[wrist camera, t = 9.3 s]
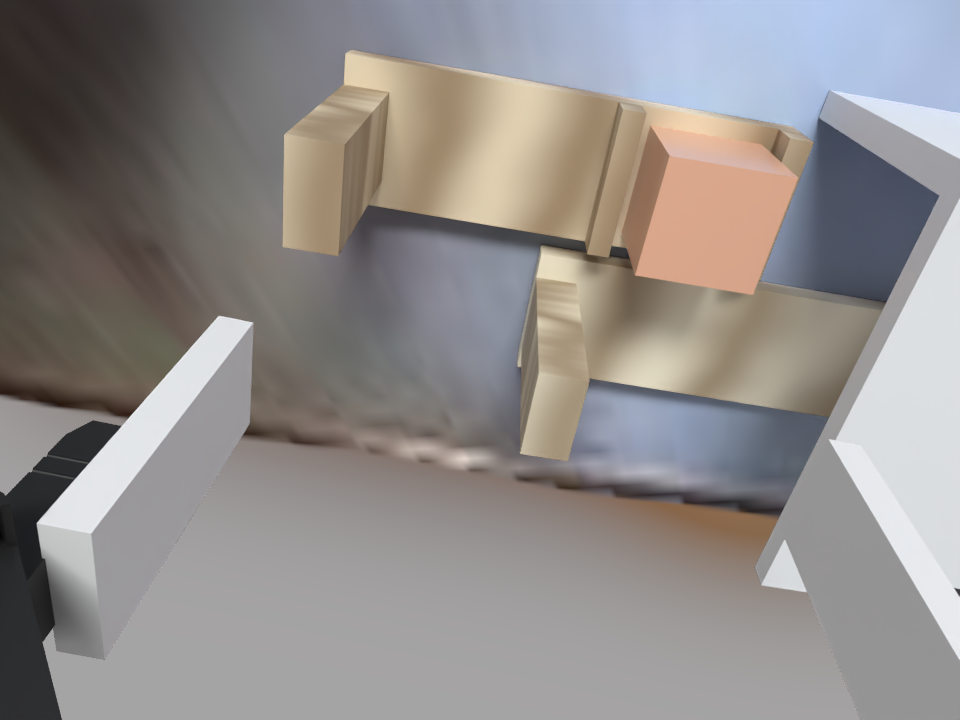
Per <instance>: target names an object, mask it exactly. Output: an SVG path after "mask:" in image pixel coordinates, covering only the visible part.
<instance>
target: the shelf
mask: <svg viewBox="0 0 960 720" xmlns="http://www.w3.org/2000/svg"><path fill="white" fill-rule="evenodd" d="M819 118H820V119H821V120H823V121H824V122H826V123H827V124H829V125H831V126H832V127H834V128H835V129H837V130H838V131H840V132H841V133H843V134H845V135H846V136H848V137H849V138H851V139H852V140H854V141H855V142H857V143H858V144H860V145H862V146H863V147H865V148H866V149H868V150H869V151H871V152H872V153H874V154H876V155H877V156H879V157H880V158H882V159H883V160H885V161H886V162H888V163H890V164H891V165H893V166H894V167H896V168H897V169H899V170H900V171H902V172H903V173H905V174H907V175H908V176H910V177H911V178H913V179H914V180H916V181H917V182H919V183H921V184H922V185H924V186H925V187H927V188H928V189H930V190H931V191H933V192H935V193H936V194H938V195H939V198H938V200H937V202H936V204H935V206H934V208H933V210H932V212H931V214H930V216H929V218H928V220H927V222H926V224H925V226H924V228H923V230H922V232H921V234H920V236H919V238H918V240H917V242H916V244H915V246H914V248H913V250H912V252H911V254H910V256H909V258H908V260H907V262H906V264H905V266H904V268H903V270H902V272H901V274H900V276H899V278H898V280H897V282H896V284H895V286H894V288H893V290H892V292H891V294H890V296H889V298H888V300H887V302H886V304H885V306H884V308H883V310H882V312H881V314H880V316H879V318H878V320H877V322H876V324H875V327H874V329H873V331H872V333H871V335H870V337H869V339H868V341H867V343H866V345H865V347H864V349H863V351H862V353H861V355H860V357H859V359H858V361H857V363H856V365H855V367H854V369H853V371H852V373H851V375H850V377H849V379H848V381H847V383H846V385H845V387H844V389H843V391H842V393H841V395H840V397H839V399H838V401H837V403H836V405H835V407H834V409H833V411H832V413H831V415H830V417H829V419H828V421H827V423H826V425H825V427H824V429H823V431H822V433H821V435H820V437H819V439H818V441H817V443H816V445H815V447H814V449H813V451H812V453H811V455H810V457H809V459H808V461H807V463H806V465H805V467H804V469H803V471H802V473H801V475H800V477H799V479H798V481H797V483H796V485H795V487H794V489H793V491H792V493H791V495H790V497H789V499H788V501H787V503H786V505H785V507H784V509H783V511H782V513H781V515H780V517H779V519H778V521H777V523H776V525H775V528H774V530H773V532H772V534H771V536H770V538H769V540H768V542H767V544H766V546H765V548H764V550H763V552H762V554H761V556H760V558H759V560H758V562H757V564H756V566H755V570H756V573H757V575H758V578H759V581H760V584H761V585H763V586H769V587H776V588H782V589H788V590H795V591H802V592H807V591H806V589H805V586H804V584H803V581H802V579H801V577H800V574H799V572H798V569H797V567H796V565H795V562H794V560H793V557H792V555H791V553H790V550H789V548H788V546H787V543H786V541H785V538H784V536H783V534H782V531H781V529H780V528H781V526H782V524H783V522H784V521H785V519H786V517H787V515H788V513H789V511H790V509H791V508H792V506H793V504H794V502H795V500H796V498H797V496H798V495H799V493H800V491H801V489H802V487H803V485H804V483H805V481H806V480H807V478H808V476H809V474H810V472H811V470H812V468H813V467H814V465H815V463H816V461H817V459H818V457H819V455H820V454H821V452H822V450H823V448H824V446H825V444H826V442H827V441H828V439H831V440H836V441H841V442H846V443H851V444H856V445H861V446H862V448H863V449H864V451H865V452H866V454H867V455H868V457H869V459H870V460H871V462H872V463H873V465H874V466H875V468H876V469H877V471H878V472H879V474H880V475H881V477H882V479H883V480H884V482H885V483H886V485H887V486H888V488H889V489H890V491H891V492H892V494H893V495H894V497H895V498H896V500H897V502H898V503H899V505H900V506H901V508H902V509H903V511H904V512H905V514H906V515H907V517H908V518H909V520H910V522H911V523H912V525H913V526H914V528H915V529H916V531H917V532H918V534H919V535H920V537H921V538H922V540H923V541H924V543H925V545H926V546H927V548H928V549H929V551H930V552H931V554H932V555H933V557H934V558H935V560H936V561H937V563H938V565H939V566H940V568H941V569H942V571H943V572H944V574H945V575H946V577H947V578H948V580H949V581H950V583H951V585H952V586H953V588H957V589H960V113H957V112H951V111H945V110H940V109H934V108H928V107H923V106H917V105H911V104H906V103H900V102H894V101H889V100H883V99H877V98H872V97H866V96H860V95H855V94H849V93H843V92H837V91H832V90H830V91H829V93H828V96H827V98H826V101H825V103H824V106H823V109H822V111H821V114H820V116H819Z"/></svg>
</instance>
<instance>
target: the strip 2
mask: <svg viewBox="0 0 960 720" xmlns="http://www.w3.org/2000/svg"><path fill="white" fill-rule="evenodd" d="M885 304H886V302H881V301H875V300H869V299H863V298H857V297H851V296H845V295H839V294H833V293H827V292H821V291H815V290H809V289H803V288H797V287H791V286H785V285H779V284H773V283H767V282H761V281H760V282H759V283H757V286H756V288H755V291H754V293H753V295H750V294H744V293H738V292H732V291H726V290H720V289H714V288H708V287H702V286H696V285H690V284H684V283H678V282H672V281H666V280H660V279H654V278H648V277H642V276H636V275H635V274H634V270H633V267H632V264H631V261H630V259H624V258H618V257H612V256H609V258H608V257H602V256H596V255H590V254H587V252H582V251H576V250H570V249H564V248H558V247H552V246H546V245H541V247H540V251H539V256H538V261H537V266H536V270H535V275H534V280H533V285H532V289H531V294H530V299H529V303H528V308H527V313H526V318H525V322H524V327H523V332H522V337H521V341H520V346H519V351H518V358H517V367H521V425H520V454H524V455H531V456H537V457H543V458H550V459H556V460H562V461H568V458H569V454H570V451H571V447H572V443H573V440H574V436H575V433H576V429H577V425H578V422H579V418H580V415H581V411H582V407H583V404H584V400H585V397H586V393H587V389H588V386H589V382H590V380H589V378H590V379H596V380H603V381H609V382H615V383H621V384H627V385H634V386H640V387H646V388H652V389H658V390H664V391H671V392H677V393H683V394H689V395H695V396H702V397H708V398H714V399H720V400H726V401H732V402H739V403H745V404H751V405H757V406H763V407H770V408H776V409H782V410H788V411H794V412H800V413H807V414H813V415H819V416H825V417H830V415H831V413H832V411H833V409H834V407H835V405H836V403H837V401H838V399H839V397H840V395H841V393H842V391H843V389H844V387H845V385H846V383H847V381H848V379H849V377H850V375H851V373H852V371H853V369H854V367H855V365H856V363H857V361H858V359H859V357H860V355H861V353H862V351H863V349H864V347H865V345H866V343H867V341H868V339H869V337H870V335H871V333H872V331H873V329H874V327H875V324H876V322H877V320H878V318H879V316H880V314H881V312H882V310H883V308H884V306H885Z"/></svg>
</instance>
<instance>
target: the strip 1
mask: <svg viewBox="0 0 960 720" xmlns="http://www.w3.org/2000/svg"><path fill="white" fill-rule="evenodd" d="M650 125H652V126H658V127H663V128H669V129H675V130H681V131H687V132H692V133H698V134H704V135H710V136H715V137H721V138H727V139H733V140H739V141H744V142H750V143H756V144H762V145H763V146H764V147H765V148H766V149H767V150H768V151H769V152H770V153H772V154H773V155H774V156H775V157H776V158H777V159H778V160H779V161H780V162H781V163H783V164H784V165H785V166H786V167H787V168H788V169H789V170H790V171H791V172H792V173H793V174H795V175H796V176H797V177H798V180H797V182H796V185H795V188H794V190H793V193H792V195H791V198H790V201H789V203H788V206H787V208H786V211H785V213H784V216H783V219H782V221H781V224H780V226H779V229H778V231H777V234H776V237H775V239H774V242H773V244H772V247H771V249H770V252H769V255H768V257H767V260H766V262H765V265H764V267H763V270H762V273H761V275H760V278H759V280H758V283H759V282H760V279H761V277H762V274H763V272H764V269H765V267H766V264H767V261H768V259H769V256H770V254H771V251H772V249H773V246H774V244H775V241H776V238H777V236H778V233H779V231H780V228H781V226H782V223H783V220H784V218H785V215H786V213H787V210H788V208H789V205H790V202H791V200H792V197H793V195H794V192H795V190H796V187H797V184H798V182H799V179H800V177H801V174H802V172H803V169H804V166H805V164H806V161H807V159H808V156H809V154H810V151H811V149H812V146H813V143H814V142H813V141H811V140H810V139H809V138H807V137H806V136H805V135H803V134H802V133H801V132H799V131H798V130H796V129H795V128H794V127H792V126H786V125H780V124H774V123H769V122H763V121H757V120H751V119H746V118H740V117H734V116H728V115H723V114H717V113H711V112H705V111H700V110H694V109H688V108H682V107H677V106H671V105H665V104H659V103H654V102H648V101H642V100H636V99H631V98H625V97H619V96H614V95H608V94H602V93H596V92H591V91H585V90H579V89H573V88H568V87H562V86H556V85H550V84H545V83H539V82H533V81H527V80H522V79H516V78H510V77H504V76H499V75H493V74H487V73H481V72H476V71H470V70H464V69H458V68H453V67H447V66H441V65H435V64H430V63H424V62H418V61H412V60H407V59H401V58H395V57H390V56H384V55H378V54H372V53H367V52H361V51H355V50H350V51H349V52H348V53H346V54H345V73H344V85H342V86H341V87H340V88H339V89H338V90H337V91H335V92H334V93H333V94H332V95H331V96H329V97H328V98H327V99H326V100H325V101H323V102H322V103H321V104H320V105H319V106H317V107H316V108H315V109H314V110H313V111H312V112H310V113H309V114H308V115H307V116H306V117H304V118H303V119H302V120H301V121H300V122H298V123H297V124H296V125H295V126H294V127H292V128H291V129H290V130H289V131H288V132H287V133H285V134H284V192H283V247H286V248H293V249H299V250H305V251H311V252H317V253H323V254H329V255H335V256H339V254H340V252H341V251H342V249H343V247H344V245H345V244H346V242H347V240H348V238H349V237H350V235H351V233H352V232H353V230H354V228H355V226H356V225H357V223H358V221H359V220H360V218H361V216H362V214H363V213H364V211H365V209H366V207H367V206H368V205H372V206H378V207H384V208H390V209H396V210H402V211H407V212H413V213H419V214H425V215H431V216H437V217H443V218H449V219H455V220H461V221H467V222H473V223H479V224H485V225H491V226H497V227H503V228H509V229H515V230H521V231H527V232H533V233H539V234H545V235H551V236H557V237H563V238H569V239H574V240H580V241H585V245H586V251H587V254H590V255H596V256H602V257H608V258H609V254H610V250H611V246H616V247H622V248H626V245H625V241H624V238H623V235H622V229H623V225H624V221H625V217H626V214H627V210H628V206H629V203H630V199H631V195H632V192H633V188H634V184H635V180H636V177H637V173H638V169H639V166H640V162H641V158H642V155H643V151H644V147H645V143H646V140H647V136H648V132H649V129H650Z"/></svg>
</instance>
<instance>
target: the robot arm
mask: <svg viewBox="0 0 960 720" xmlns="http://www.w3.org/2000/svg"><path fill="white" fill-rule="evenodd" d="M252 347H253V323H252V322H247V321H243V320H238V319H233V318H228V317H223V316H218V317H217V318H216V320H215V321H214V322H213V323H212V324H211V325H210V326H209V328H208V329H207V330H206V331H205V332H204V333H203V334H202V336H201V337H200V338H199V339H198V340H197V341H196V342H195V344H194V345H193V346H192V347H191V348H190V349H189V350H188V351H187V353H186V354H185V355H184V356H183V357H182V358H181V359H180V361H179V362H178V363H177V364H176V365H175V366H174V367H173V369H172V370H171V371H170V372H169V373H168V374H167V375H166V377H165V378H164V379H163V380H162V381H161V382H160V383H159V384H158V386H157V387H156V388H155V389H154V390H153V391H152V392H151V394H150V395H149V396H148V397H147V398H146V399H145V400H144V402H143V403H142V404H141V405H140V406H139V407H138V408H137V410H136V411H135V412H134V413H133V414H132V415H131V416H130V417H129V419H128V420H127V421H126V422H125V423H124V424H123V426H118V425H113V424H108V423H103V422H98V421H91V422H89V423H87V424H85V425H83V426H81V427H80V428H78V429H76V430H74V431H72V432H70V433H68V434H66V435H65V436H64V437H63V438H62V439H61V440H60V441H59V442H58V443H57V444H56V445H55V446H54V447H53V448H52V449H51V450H50V451H49V452H48V455H47V457H43V458H42V459H41V461H40V462H39V463H38V464H37V465H36V466H35V467H34V468H33V471H32V472H31V473H30V472H29V473H28V474H27V475H26V476H25V477H24V478H23V479H22V480H21V481H20V482H19V483H18V484H17V485H16V486H15V487H14V488H13V489H12V490H11V491H10V492H9V493H8V494H7V495H6V496H5V495H4V494H3V493H2V492H0V720H62V718H61V714H60V710H59V706H58V702H57V698H56V694H55V691H54V687H53V683H52V679H51V675H50V671H49V667H48V663H47V659H46V655H45V651H44V647H43V643H42V642H43V641H44V639H45V638H46V637H47V635H48V634H49V632H50V631H51V630H52V628H53V631H54V637H55V643H56V650H57V651H60V652H65V653H71V654H76V655H81V656H86V657H92V658H97V659H102V660H105V659H106V657H107V655H108V654H109V652H110V650H111V649H112V647H113V645H114V644H115V642H116V641H117V639H118V637H119V635H120V634H121V632H122V631H123V629H124V628H125V626H126V624H127V623H128V621H129V619H130V618H131V616H132V614H133V613H134V611H135V610H136V608H137V606H138V605H139V603H140V601H141V600H142V598H143V596H144V595H145V593H146V592H147V590H148V588H149V587H150V585H151V583H152V582H153V580H154V579H155V577H156V575H157V574H158V572H159V570H160V569H161V567H162V566H163V564H164V562H165V561H166V559H167V557H168V556H169V554H170V553H171V551H172V549H173V548H174V546H175V544H176V543H177V541H178V539H179V538H180V536H181V535H182V533H183V531H184V530H185V528H186V526H187V525H188V523H189V521H190V520H191V518H192V517H193V515H194V513H195V512H196V510H197V508H198V507H199V505H200V503H201V502H202V500H203V499H204V497H205V495H206V493H207V492H208V490H209V489H210V487H211V486H212V484H213V482H214V481H215V479H216V478H217V476H218V474H219V473H220V471H221V469H222V468H223V466H224V464H225V463H226V461H227V460H228V458H229V456H230V455H231V453H232V451H233V450H234V448H235V446H236V445H237V443H238V442H239V440H240V438H241V437H242V435H243V433H244V432H245V430H246V429H247V427H248V425H249V424H250V400H251V373H252ZM780 529H781V531H782V534H783V536H784V538H785V541H786V543H787V546H788V548H789V550H790V553H791V555H792V557H793V560H794V562H795V565H796V567H797V569H798V572H799V574H800V577H801V579H802V581H803V584H804V586H805V589H806V591H807V593H808V596H809V598H810V601H811V603H812V605H813V608H814V610H815V613H816V615H817V617H818V620H819V622H820V624H821V627H822V629H823V632H824V634H825V636H826V639H827V641H828V643H829V646H830V648H831V651H832V653H833V655H834V658H835V660H836V663H837V665H838V668H839V670H840V672H841V675H842V677H843V679H844V682H845V684H846V687H847V689H848V692H849V694H850V696H851V699H852V701H853V703H854V705H855V708H856V711H857V713H858V715H859V718H860V720H960V589H957V588H953V586H952V585H951V583H950V581H949V580H948V578H947V577H946V575H945V574H944V572H943V571H942V569H941V568H940V566H939V565H938V563H937V561H936V560H935V558H934V557H933V555H932V554H931V552H930V551H929V549H928V548H927V546H926V545H925V543H924V541H923V540H922V538H921V537H920V535H919V534H918V532H917V531H916V529H915V528H914V526H913V525H912V523H911V522H910V520H909V518H908V517H907V515H906V514H905V512H904V511H903V509H902V508H901V506H900V505H899V503H898V502H897V500H896V498H895V497H894V495H893V494H892V492H891V491H890V489H889V488H888V486H887V485H886V483H885V482H884V480H883V479H882V477H881V475H880V474H879V472H878V471H877V469H876V468H875V466H874V465H873V463H872V462H871V460H870V459H869V457H868V455H867V454H866V452H865V451H864V449H863V448H862V446H861V445H856V444H851V443H846V442H841V441H836V440H831V439H828V441H827V442H826V444H825V446H824V448H823V450H822V452H821V454H820V455H819V457H818V459H817V461H816V463H815V465H814V467H813V468H812V470H811V472H810V474H809V476H808V478H807V480H806V481H805V483H804V485H803V487H802V489H801V491H800V493H799V495H798V496H797V498H796V500H795V502H794V504H793V506H792V508H791V509H790V511H789V513H788V515H787V517H786V519H785V521H784V522H783V524H782V526H781V528H780Z"/></svg>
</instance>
